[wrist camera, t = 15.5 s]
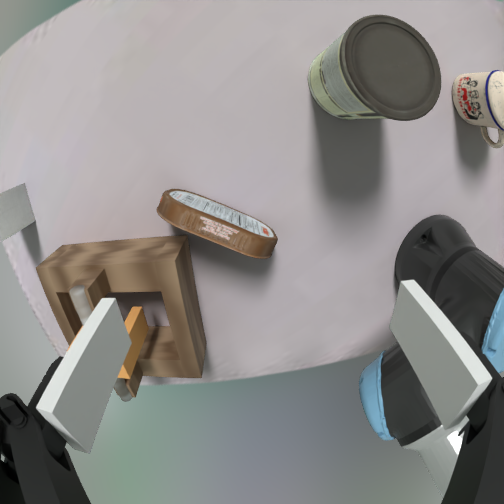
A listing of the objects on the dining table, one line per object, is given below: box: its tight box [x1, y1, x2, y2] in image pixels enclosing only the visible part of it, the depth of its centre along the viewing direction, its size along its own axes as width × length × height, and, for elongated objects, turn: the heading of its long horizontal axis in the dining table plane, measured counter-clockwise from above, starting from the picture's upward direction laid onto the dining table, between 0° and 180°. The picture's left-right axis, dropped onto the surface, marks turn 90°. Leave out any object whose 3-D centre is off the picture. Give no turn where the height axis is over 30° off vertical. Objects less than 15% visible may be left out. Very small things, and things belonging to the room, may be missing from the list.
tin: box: [157, 189, 278, 259], centre depth 34 cm, size 15×3×8 cm, turn 66°
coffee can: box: [308, 15, 441, 121], centre depth 24 cm, size 10×10×14 cm
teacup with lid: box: [452, 70, 504, 148], centre depth 25 cm, size 12×9×12 cm
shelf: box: [36, 235, 206, 402], centre depth 37 cm, size 22×20×14 cm
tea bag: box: [0, 183, 36, 242], centre depth 31 cm, size 4×7×10 cm, turn 9°
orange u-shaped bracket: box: [67, 307, 149, 379], centre depth 34 cm, size 8×4×10 cm, turn 93°
